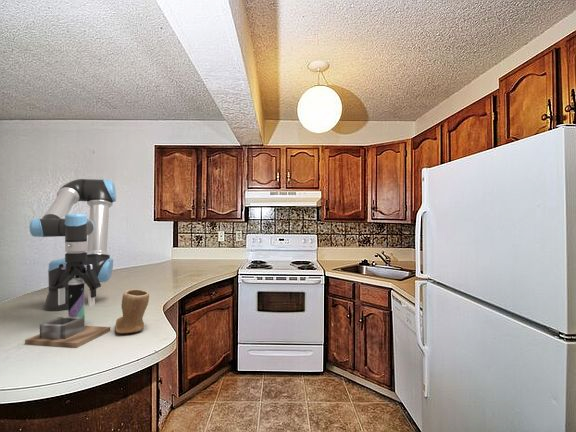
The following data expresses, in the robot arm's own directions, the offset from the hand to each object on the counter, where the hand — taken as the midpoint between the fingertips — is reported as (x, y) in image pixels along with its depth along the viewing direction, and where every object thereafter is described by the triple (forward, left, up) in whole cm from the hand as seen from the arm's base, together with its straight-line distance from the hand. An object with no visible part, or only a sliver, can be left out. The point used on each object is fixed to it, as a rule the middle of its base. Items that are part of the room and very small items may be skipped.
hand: (76, 305), depth 133 cm
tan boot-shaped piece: (+26, -1, -8) cm, 27 cm away
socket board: (+9, -13, -8) cm, 18 cm away
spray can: (0, 0, -8) cm, 8 cm away
